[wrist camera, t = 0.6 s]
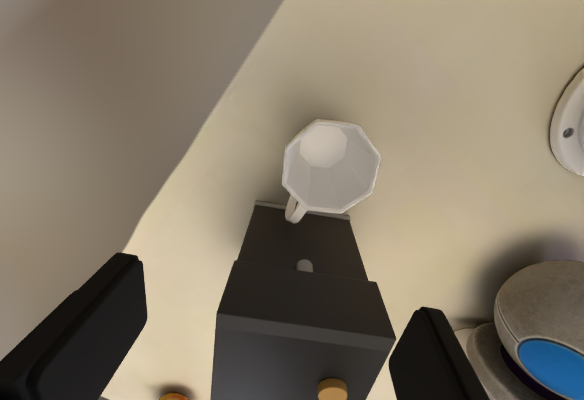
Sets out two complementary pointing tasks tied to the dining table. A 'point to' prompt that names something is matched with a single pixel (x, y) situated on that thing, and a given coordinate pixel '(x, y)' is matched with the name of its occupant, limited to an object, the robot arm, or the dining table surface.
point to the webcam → (534, 336)
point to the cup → (328, 168)
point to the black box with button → (299, 313)
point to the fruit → (173, 397)
